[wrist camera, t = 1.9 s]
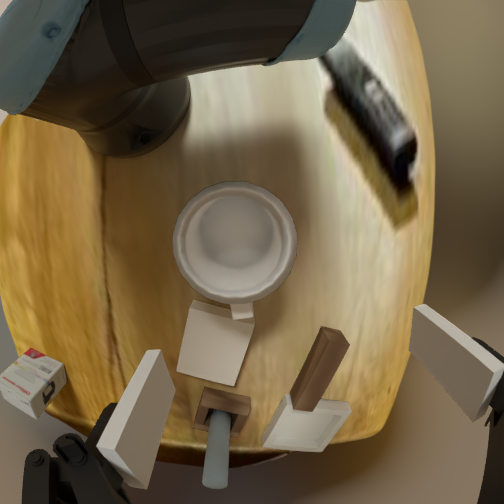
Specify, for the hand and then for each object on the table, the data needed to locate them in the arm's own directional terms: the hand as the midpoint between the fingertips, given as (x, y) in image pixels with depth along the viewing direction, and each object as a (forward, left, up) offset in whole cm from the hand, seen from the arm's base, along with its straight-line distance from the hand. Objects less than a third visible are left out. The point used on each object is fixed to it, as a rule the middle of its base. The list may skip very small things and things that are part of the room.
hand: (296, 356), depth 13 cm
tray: (+15, -25, -21) cm, 36 cm away
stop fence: (+12, -13, -21) cm, 27 cm away
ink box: (-31, -31, -22) cm, 49 cm away
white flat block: (-3, -13, -22) cm, 25 cm away
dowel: (+1, -25, -21) cm, 33 cm away
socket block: (+1, -25, -21) cm, 33 cm away
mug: (-4, +1, -22) cm, 22 cm away
